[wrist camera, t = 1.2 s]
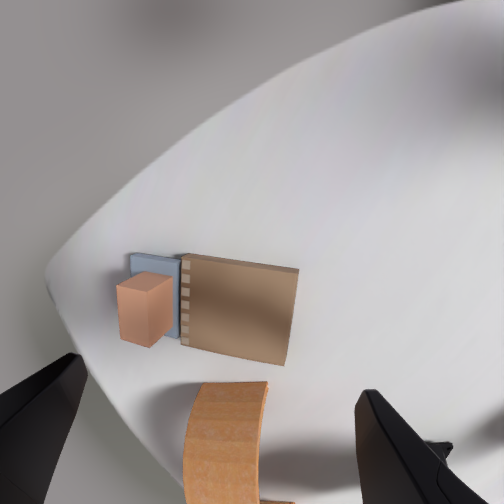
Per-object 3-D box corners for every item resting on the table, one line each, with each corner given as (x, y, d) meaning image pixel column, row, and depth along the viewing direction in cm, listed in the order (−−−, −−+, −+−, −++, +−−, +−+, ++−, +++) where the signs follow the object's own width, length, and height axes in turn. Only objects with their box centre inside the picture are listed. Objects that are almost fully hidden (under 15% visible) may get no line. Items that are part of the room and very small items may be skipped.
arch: (270, 380, 23) (238, 474, 14) (296, 505, 26) (282, 571, 17) (204, 381, 25) (150, 461, 15) (249, 502, 28) (227, 565, 18)
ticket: (285, 357, 22) (283, 366, 21) (186, 337, 24) (180, 345, 23) (299, 269, 21) (297, 274, 19) (188, 253, 22) (180, 257, 21)
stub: (182, 333, 24) (154, 361, 19) (139, 322, 24) (108, 346, 20) (183, 260, 22) (150, 277, 18) (137, 252, 23) (100, 267, 19)
